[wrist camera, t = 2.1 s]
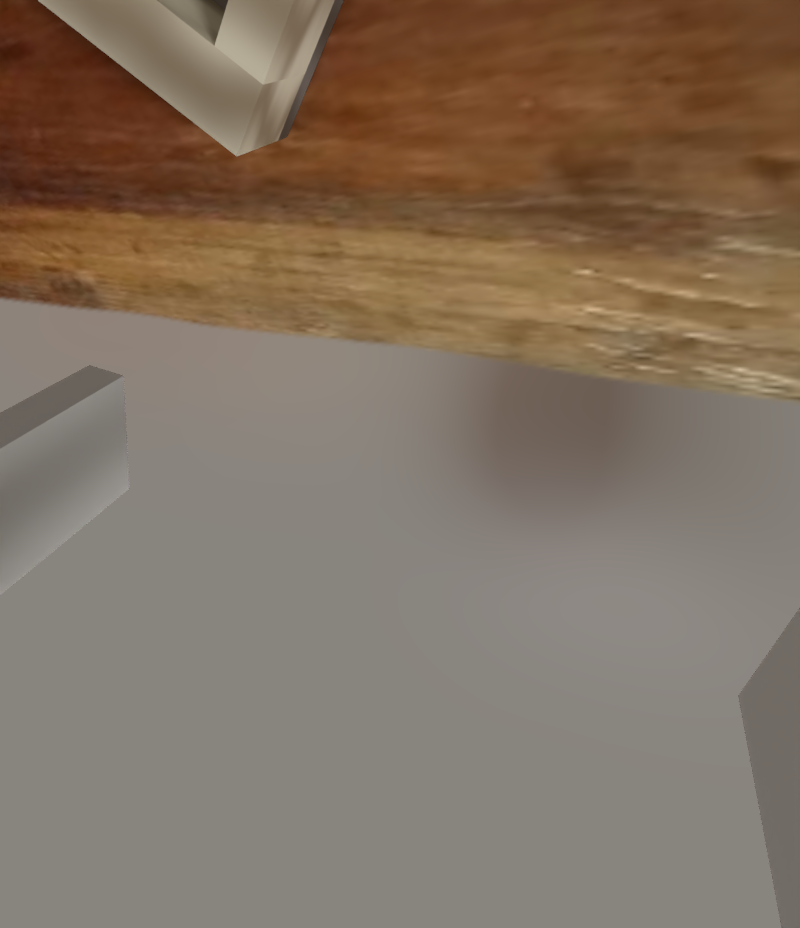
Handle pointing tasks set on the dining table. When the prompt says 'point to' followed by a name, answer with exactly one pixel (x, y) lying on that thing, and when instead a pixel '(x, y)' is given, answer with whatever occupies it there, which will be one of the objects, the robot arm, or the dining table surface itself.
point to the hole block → (214, 57)
